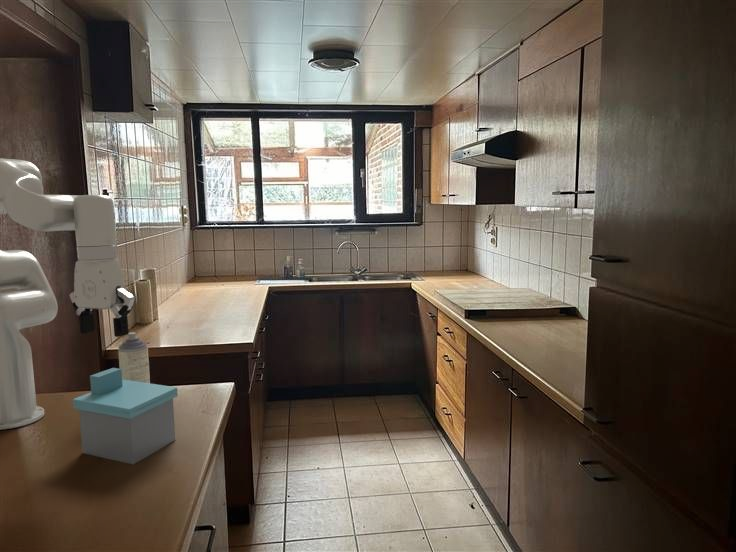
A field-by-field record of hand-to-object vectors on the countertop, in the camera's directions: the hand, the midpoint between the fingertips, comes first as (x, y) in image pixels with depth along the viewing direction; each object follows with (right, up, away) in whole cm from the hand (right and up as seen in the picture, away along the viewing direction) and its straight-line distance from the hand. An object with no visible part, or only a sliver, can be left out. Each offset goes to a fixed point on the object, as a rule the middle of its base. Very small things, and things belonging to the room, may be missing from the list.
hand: (104, 333), depth 113 cm
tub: (+5, -25, +1) cm, 25 cm away
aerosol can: (-3, -22, +22) cm, 32 cm away
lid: (+5, -15, 0) cm, 15 cm away
